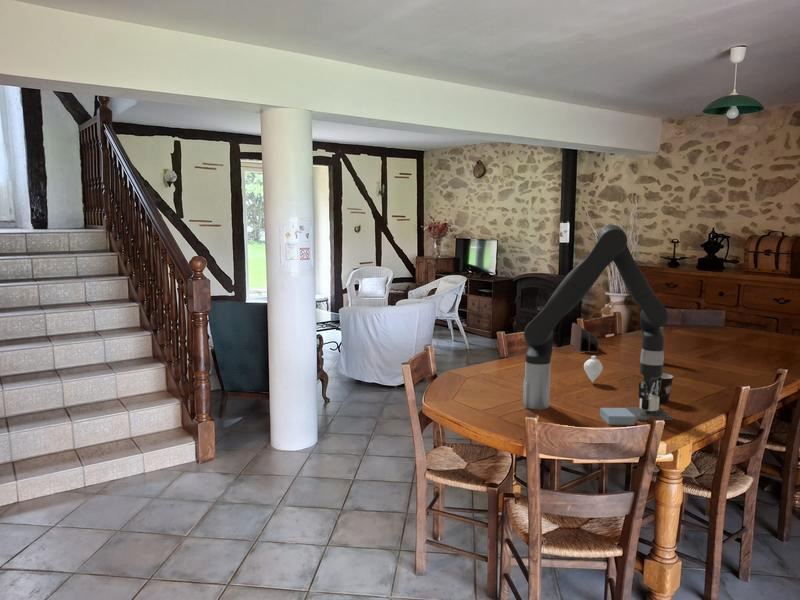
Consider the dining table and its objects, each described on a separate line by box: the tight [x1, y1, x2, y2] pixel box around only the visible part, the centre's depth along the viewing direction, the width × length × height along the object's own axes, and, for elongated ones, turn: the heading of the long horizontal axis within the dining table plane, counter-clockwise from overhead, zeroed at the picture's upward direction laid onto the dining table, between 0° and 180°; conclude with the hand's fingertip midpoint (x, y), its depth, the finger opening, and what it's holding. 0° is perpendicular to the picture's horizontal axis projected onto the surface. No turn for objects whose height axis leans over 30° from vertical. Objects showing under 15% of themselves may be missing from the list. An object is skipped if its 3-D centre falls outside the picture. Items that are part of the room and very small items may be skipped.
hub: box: [626, 406, 673, 422], centre depth 203 cm, size 12×10×5 cm
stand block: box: [599, 407, 636, 426], centre depth 199 cm, size 9×9×3 cm
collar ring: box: [639, 394, 660, 411], centre depth 203 cm, size 6×6×4 cm
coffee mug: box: [647, 372, 674, 404], centre depth 220 cm, size 12×9×10 cm
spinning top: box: [583, 355, 604, 384], centre depth 244 cm, size 8×8×12 cm
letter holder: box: [570, 322, 599, 354], centre depth 311 cm, size 10×20×14 cm, turn 177°
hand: (648, 407), depth 203 cm, fingers closed on collar ring, 6 cm apart
